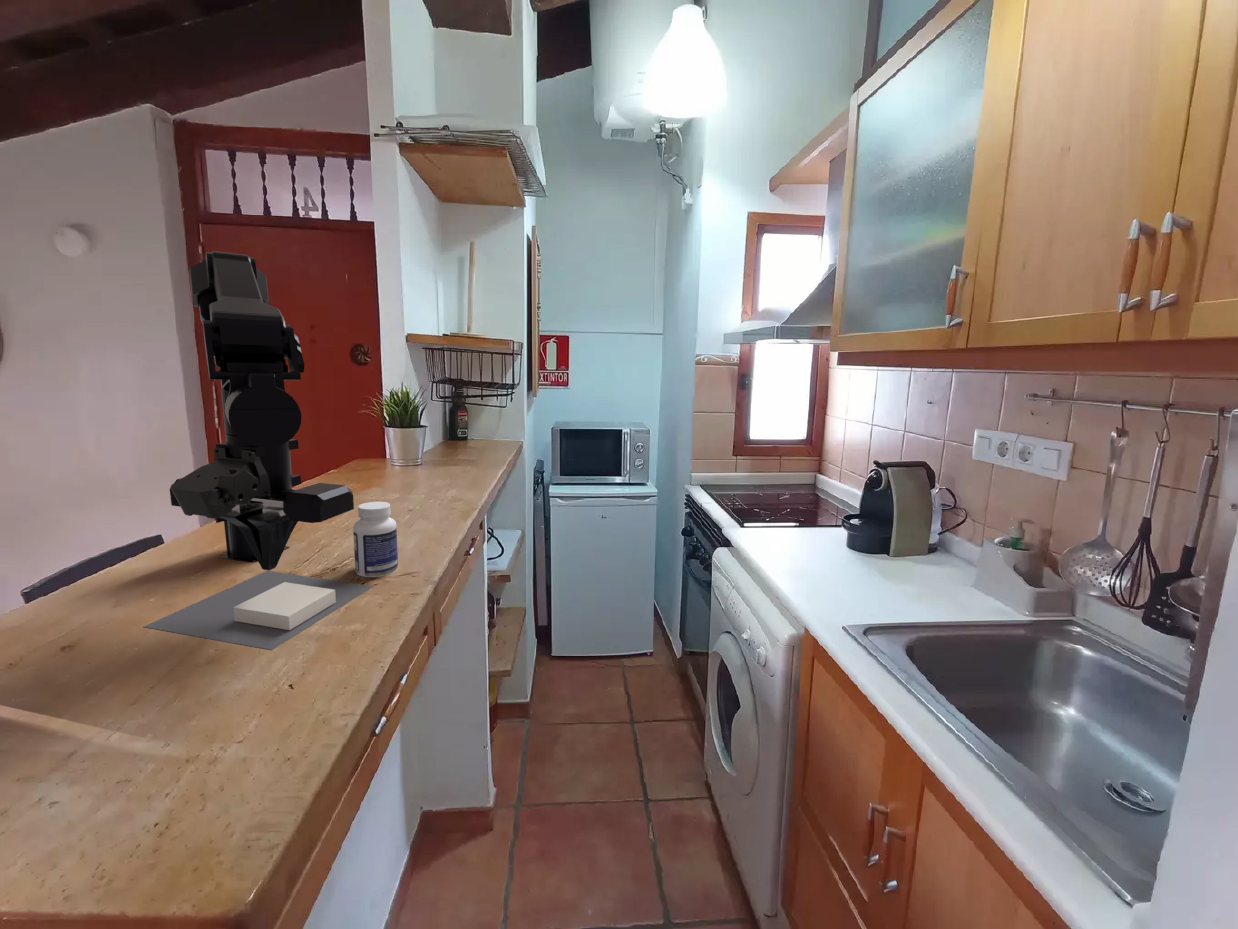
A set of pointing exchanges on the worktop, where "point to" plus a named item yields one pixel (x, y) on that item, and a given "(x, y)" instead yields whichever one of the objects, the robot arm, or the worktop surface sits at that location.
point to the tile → (284, 605)
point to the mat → (219, 623)
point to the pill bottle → (375, 540)
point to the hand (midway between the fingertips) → (269, 569)
